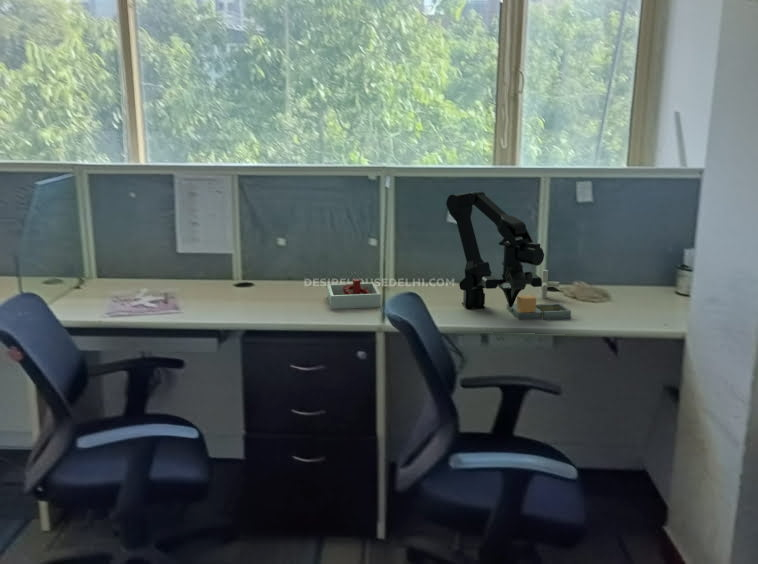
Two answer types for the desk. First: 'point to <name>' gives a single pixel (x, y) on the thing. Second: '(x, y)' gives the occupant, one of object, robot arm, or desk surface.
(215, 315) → the desk surface
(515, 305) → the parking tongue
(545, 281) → the pipe connector
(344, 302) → the gear corral
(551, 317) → the sliding lid box
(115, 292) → the desk surface
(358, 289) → the red branched piece
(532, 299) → the block
